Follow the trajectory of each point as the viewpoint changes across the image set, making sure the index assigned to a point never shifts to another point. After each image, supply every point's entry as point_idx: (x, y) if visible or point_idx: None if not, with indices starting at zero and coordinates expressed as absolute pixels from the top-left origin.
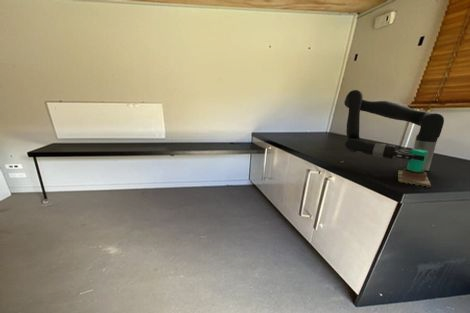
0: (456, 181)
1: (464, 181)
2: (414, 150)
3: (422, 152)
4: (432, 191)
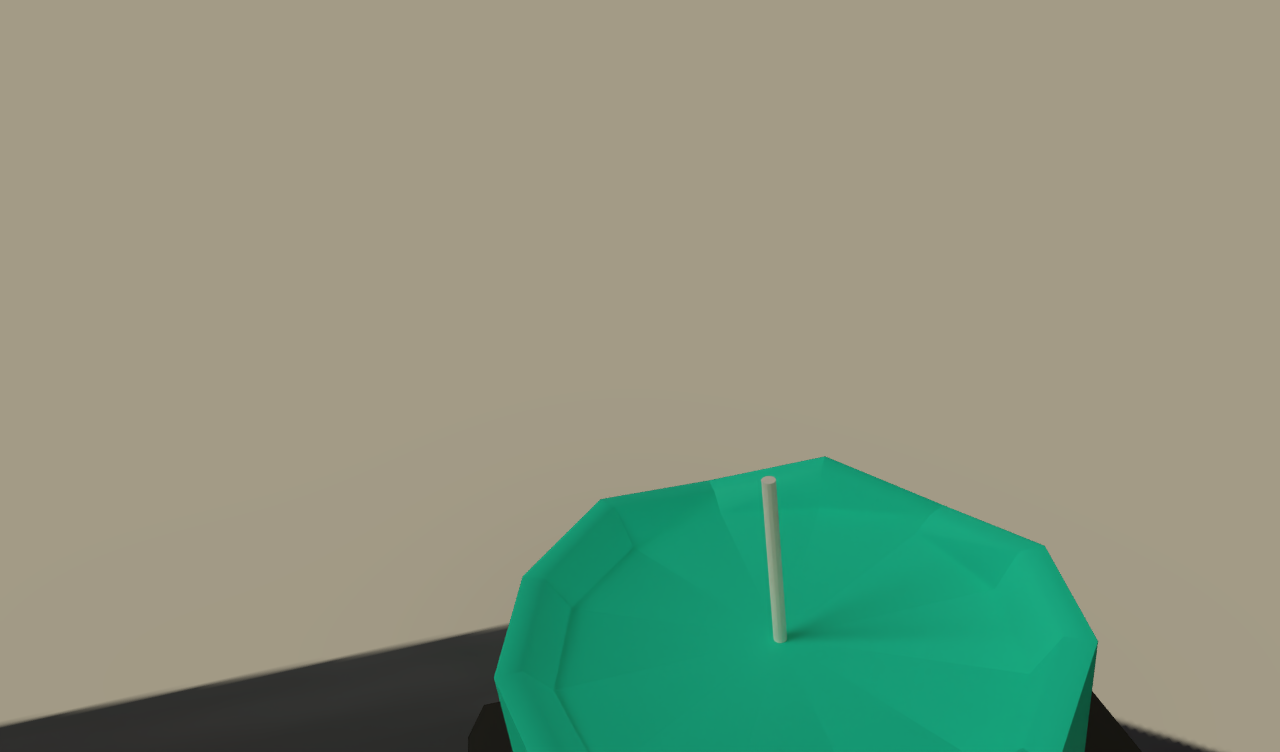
0: (246, 742)
1: (168, 698)
2: (1089, 680)
3: (947, 517)
4: (1158, 744)
